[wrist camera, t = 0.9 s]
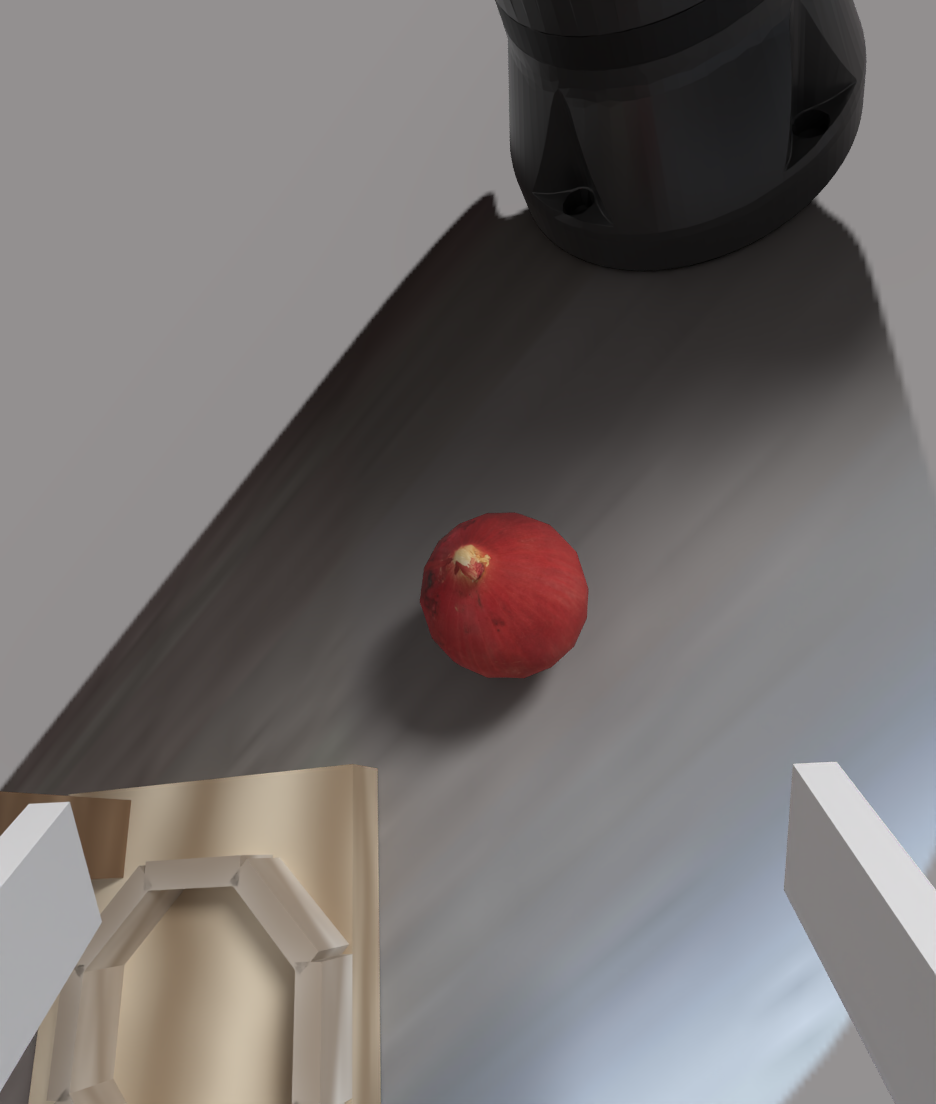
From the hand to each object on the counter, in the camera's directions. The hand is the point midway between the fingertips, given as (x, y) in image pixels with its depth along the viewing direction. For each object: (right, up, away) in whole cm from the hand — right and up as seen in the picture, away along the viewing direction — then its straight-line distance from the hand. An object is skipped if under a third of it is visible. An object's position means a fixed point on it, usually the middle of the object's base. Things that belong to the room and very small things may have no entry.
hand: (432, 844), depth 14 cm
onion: (+3, +3, +17) cm, 17 cm away
